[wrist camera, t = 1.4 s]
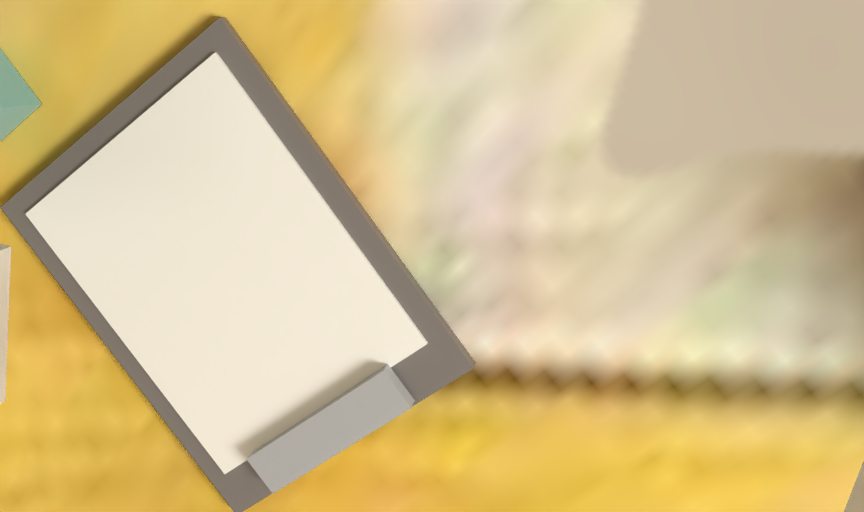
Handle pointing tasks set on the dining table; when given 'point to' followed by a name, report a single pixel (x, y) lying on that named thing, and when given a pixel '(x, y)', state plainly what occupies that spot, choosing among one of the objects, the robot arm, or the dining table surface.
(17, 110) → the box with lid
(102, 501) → the dining table surface
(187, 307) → the clipboard
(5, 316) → the robot arm
